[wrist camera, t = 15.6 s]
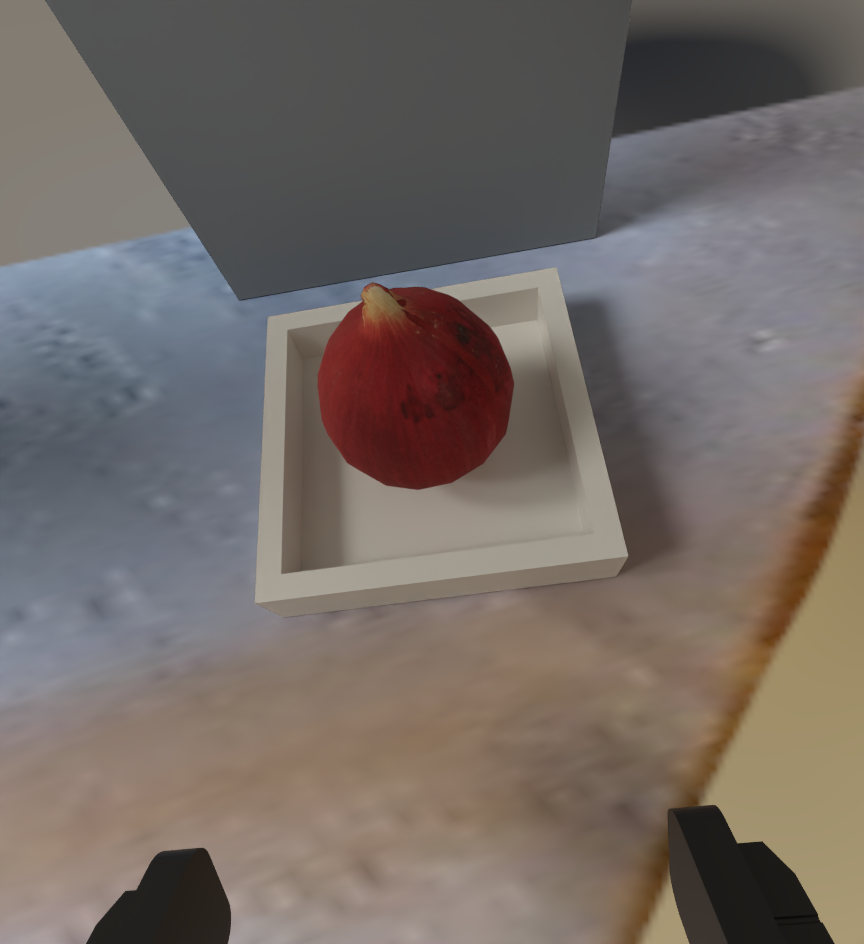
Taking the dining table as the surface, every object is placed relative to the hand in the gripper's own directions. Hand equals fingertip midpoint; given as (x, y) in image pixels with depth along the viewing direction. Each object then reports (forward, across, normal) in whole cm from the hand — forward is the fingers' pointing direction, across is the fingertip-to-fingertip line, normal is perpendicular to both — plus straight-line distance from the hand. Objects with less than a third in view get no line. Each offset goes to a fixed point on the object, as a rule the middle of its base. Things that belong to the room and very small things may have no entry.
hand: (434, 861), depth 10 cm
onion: (+13, 0, -3) cm, 13 cm away
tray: (+13, 0, -3) cm, 14 cm away
